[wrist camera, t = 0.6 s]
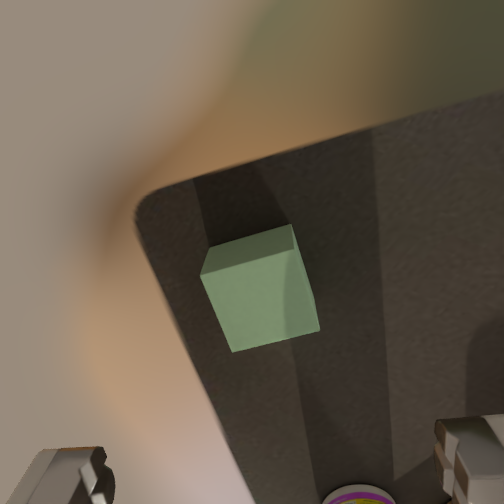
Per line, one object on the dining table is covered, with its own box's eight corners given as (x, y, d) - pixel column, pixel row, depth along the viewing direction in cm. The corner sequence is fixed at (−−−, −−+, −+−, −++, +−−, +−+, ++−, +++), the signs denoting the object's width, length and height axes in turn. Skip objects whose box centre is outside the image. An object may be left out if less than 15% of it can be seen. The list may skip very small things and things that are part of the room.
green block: (209, 247, 27) (199, 275, 23) (291, 223, 26) (294, 248, 22) (236, 317, 29) (231, 352, 25) (313, 296, 28) (320, 330, 24)
